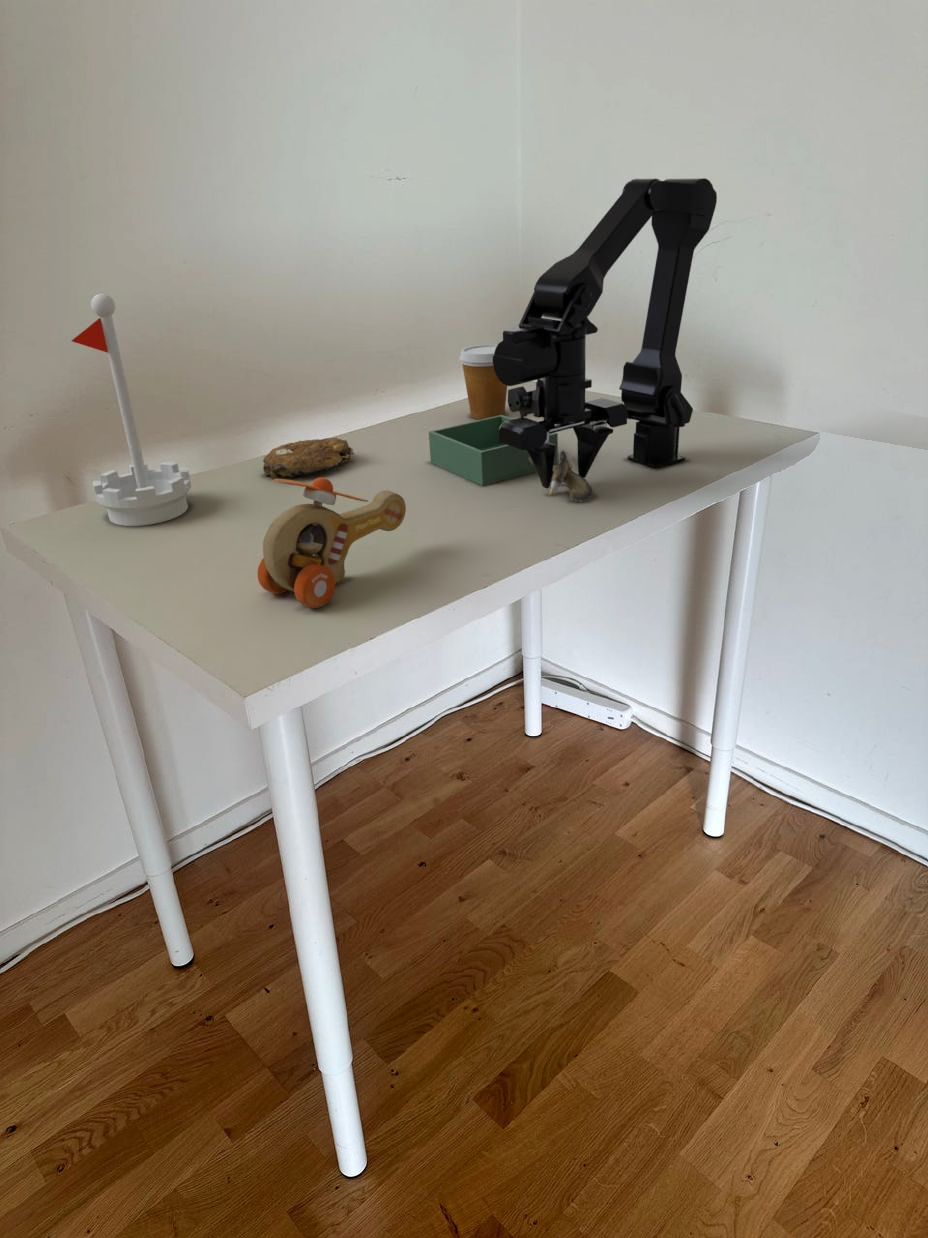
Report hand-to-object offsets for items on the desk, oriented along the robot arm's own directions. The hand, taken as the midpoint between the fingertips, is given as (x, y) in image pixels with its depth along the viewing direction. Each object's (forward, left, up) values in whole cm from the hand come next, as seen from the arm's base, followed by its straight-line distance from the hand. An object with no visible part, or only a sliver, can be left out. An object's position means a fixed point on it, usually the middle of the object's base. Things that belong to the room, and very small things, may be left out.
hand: (564, 482), depth 130 cm
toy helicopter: (+39, +6, -2) cm, 40 cm away
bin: (0, -17, -2) cm, 18 cm away
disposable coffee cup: (-16, -42, -2) cm, 45 cm away
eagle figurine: (0, 0, -2) cm, 2 cm away
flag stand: (+50, -33, -2) cm, 60 cm away
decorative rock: (+23, -36, -2) cm, 43 cm away
